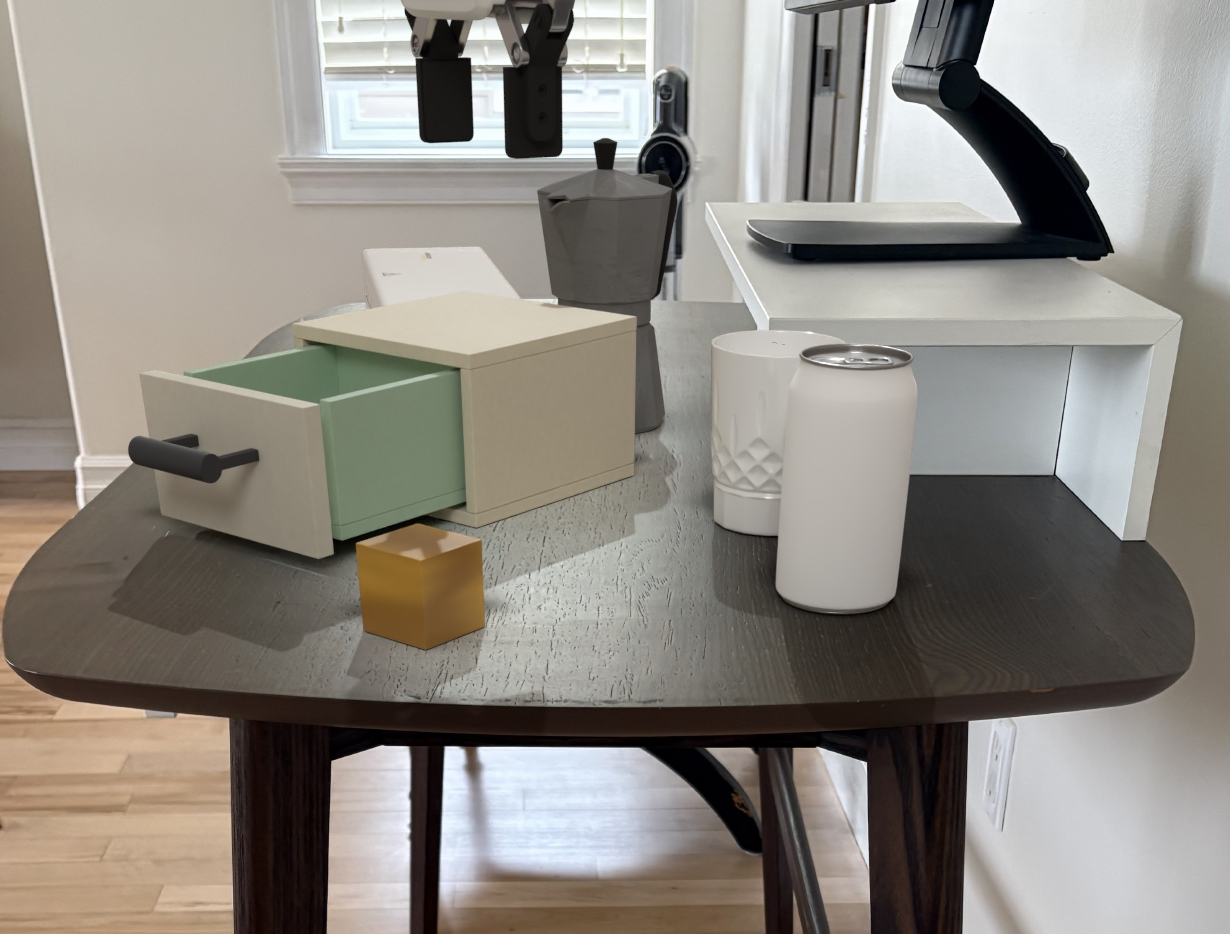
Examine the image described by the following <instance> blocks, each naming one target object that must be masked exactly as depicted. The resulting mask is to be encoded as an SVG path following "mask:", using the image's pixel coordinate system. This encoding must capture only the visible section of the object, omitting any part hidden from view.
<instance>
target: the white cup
mask: <svg viewBox="0 0 1230 934" xmlns="http://www.w3.org/2000/svg"><path fill="white" fill-rule="evenodd" d="M772 342H776V343H777V344H776V343H772ZM782 344H785V345H782ZM828 344H849V343H848V342H847V341H846V340H844V339H842V338H839V337H836V336H832V335H828V334H824V333H818V332H811V331H802V330H789V329H788V330H787V329H756V330H742V331H735V332H734V331H733V332H729V333H724V334H721V335H720V334H719V335H718V336H715V337H714V338H713V339H712V340H711V341H710V450H711V472H712V475H713V521H714V523H716V524H717V525H718V526H719V525H720V526H721V527H722V528H723V529H726V530H729V531H733V532H735V533H736V532H737V533H740V534H745V535H753V536H764V537H778V534H779V519H780V504H781V489H782V474H783V460H784V445H785V431H786V417H787V404H788V394H789V387H790V384H791V381H792V379H793V377H794V375H795V373H796V371H797V369H798V367H799V365H800V361H801V358H800V356H799V354H800V352H801V351H802V350H804V349H806V348H809V347H813V346H819V345H828Z"/></svg>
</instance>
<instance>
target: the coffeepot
mask: <svg viewBox="0 0 1230 934" xmlns="http://www.w3.org/2000/svg"><path fill="white" fill-rule="evenodd" d="M617 147H618V141H616V140H614V139H612V138H609V137H602V138H600V139H597V140H595V141H593V149H594V155H595V161H596V163H595V164H596V169H594V170H593V169H592V170H590V171H586V172H583V173H581V174H578V175H574V176H571V177H568V178H564V179H562V180H558V181H556V182H553V183H549V184H547V185H545V186H543V187H541V188H538V189H537V191H536V193H537V200H538V207H539V214H540V222H541V227H542V229H541V230H542V234H543V243H544V247H545V248H544V249H545V256H546V257H545V258H546V263H547V270H548V271H547V272H548V277H549V284H550V291H551V295H553V296H554V297H556V298H557V305H562V306H569V307H576V308H582V309H589V310H596V311H603V312H609V313H616V314H623V315H629V316H636V317H637V330H635V331H636V381H635V434H639V433H645V432H649V431H653V430H655V429H657V428H659V427H660V426H661V425H662V423H663V420H664V417H665V416H666V411H665V401H664V393H663V384H662V377H661V370H660V362H659V352H658V346H657V337H656V329H655V326H654V325H653V324H652V323H650V322H651V320H652V300H654V299H656V298H657V297H658V296H660V295H661V292H662V287H663V286H662V285H663V281H664V275H665V271H666V266H667V262H668V257H669V252H670V244H671V239H672V233H673V228H674V223H675V218H676V215H677V210H678V195H677V194H678V193H677V191H676V188H675V186H674V184H673V182H672V179H671V177H670V176H669V174H668V173H667V172H666V171H664V170H660V169H658V170H653V171H649V173H639V174H629V173H627V172H623V171H621V170H617V169H615V168H614V166H615V160H616V154H617V153H616V152H617Z"/></svg>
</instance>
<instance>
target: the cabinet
mask: <svg viewBox="0 0 1230 934" xmlns="http://www.w3.org/2000/svg"><path fill="white" fill-rule="evenodd" d="M291 327H292V336H293V347H294V349H297V348H301V347H306V346H311V345H316V344H321V343H327V344H332V345H338V346H343V347H349V348H354V349H359V350H365V351H370V352H376V353H381V354H387V355H392V356H398V357H403V358H409V359H414V360H420V361H425V362H431V363H436V364H442V365H447V366H453V367H458V368H461V369H460V372H461V394H462V416H463V438H464V460H465V482H466V502H463V503H460V504H456V505H453V506H450V507H447V508H444V509H441V510H437V511H434V512H431V513H428V514H425V515H424V516H427V517H430V518H435V519H438V520H442V521H443V520H444V521H448V522H451V523H455V524H460V525H464V526H467V527H472V528H481V527H485V526H487V525H489V524H493V523H496V522H499V521H502V520H505V519H508V518H511V517H514V516H516V515H520V514H522V513H526V512H528V511H532V510H534V509H538V508H540V507H541V508H542V507H543V506H547V505H550V504H553V503H555V502H558V501H562V500H564V499H567V498H570V497H574V496H576V495H580V494H582V493H585V492H588V491H591V490H594V489H597V488H601V487H603V486H606V485H610V484H612V483H616V482H618V481H622V480H625V479H627V478H630V477H633V476H635V448H636V447H635V446H636V445H635V443H636V442H635V441H636V440H635V439H636V438H635V436H636V433H635V381H636V331H635V330H637V317H636V316H629V315H623V314H616V313H609V312H603V311H596V310H589V309H582V308H576V307H569V306H562V305H558V304H555V303H549V302H541V301H535V300H528V299H522V298H521V299H516V298H509V297H502V296H496V295H489V294H482V293H476V292H469V291H462V292H456V293H451V294H446V295H440V296H435V297H430V298H425V299H419V300H414V301H409V302H403V303H398V304H393V305H387V306H382V307H377V308H372V309H366V308H365V309H361V310H355V311H351V312H345V313H339V314H335V315H330V316H325V317H319V318H318V317H317V318H313V319H309V320H304V321H297V322H293V323H292V326H291Z"/></svg>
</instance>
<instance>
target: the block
mask: <svg viewBox="0 0 1230 934" xmlns="http://www.w3.org/2000/svg"><path fill="white" fill-rule="evenodd" d="M355 550H356V551H355V552H356V563H357V575H358V587H359V597H360V609H361V622H362V630H363V632H366V633H369V634H372V635H375V636H376V635H377V636H379V637H382V638H385V639H389V640H392V641H395V642H399V643H402V644H406V645H409V646H412V647H414V648H418V649H421V650H425V651H427V650H429V649H432V648H435V647H438V646H440V645H442V644H445V643H447V642H450V641H452V640H455V639H457V638H460V637H463V636H465V635H468V634H470V633H473V632H475V631H477V630H480V629H483V628H485V627H486V613H485V612H486V611H485V610H486V609H485V585H484V564H483V561H484V559H483V540H482V539H481V538H477V537H474V536H469V535H466V534H462V533H458V532H453V531H449V530H445V529H442V528H437V527H433V526H430V525H426V524H422V523H414V524H411V525H408V526H405V527H401V528H398V529H396V530H393V531H389V532H386V533H383V534H380V535H376V536H373V537H371V538H370V537H369V538H368V539H364V540H360V541H358V542H356V543H355Z"/></svg>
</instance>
